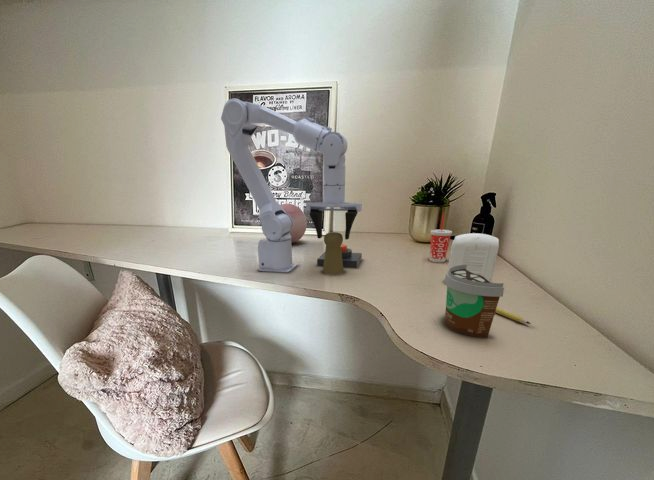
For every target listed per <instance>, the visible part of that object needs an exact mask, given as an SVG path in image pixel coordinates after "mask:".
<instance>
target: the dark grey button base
mask: <svg viewBox="0 0 654 480" xmlns="http://www.w3.org/2000/svg"><path fill="white" fill-rule="evenodd" d="M324 258H325V251H324V252H323V253H322V254H321V255H320V256H319V257H318V258H317V259H316V266H317V267H323V265H324ZM362 259H363V254H362V253H361V252H353V250H352V249H351V248H348V247H347V251H346V252H342V261H343V268H347V269H348V268H349V269H358V266H359V265H360V264H361V262H362Z"/></svg>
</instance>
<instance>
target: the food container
mask: <svg viewBox="0 0 654 480" xmlns="http://www.w3.org/2000/svg"><path fill="white" fill-rule="evenodd" d="M466 268H467V265H458V266H454V267H451V268H450V269H449V271H448V272H446V274H445V277H444V279H443V283H444V284H445V285H446V286H447V287H446V299H445V310H444V311H445V314H444V325H445V326H446V327H447V328H448V329H450V330H452V331H453V332H456V333H459V334H461V335H465V336H469V337H479V338H488V337H489V335H490V334H489V333H490V331H491V327H492V324H493V321H494V317H495V314H496V312H495V311H496V308H498V304H499V301H500V298H503V297H504V282H491V283H490V282H489V281H488V280H487V279H486V278H484V277H483V276H481V275H477V274H474V273H471V272H469V271H468V270H466Z"/></svg>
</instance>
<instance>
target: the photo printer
mask: <svg viewBox="0 0 654 480" xmlns="http://www.w3.org/2000/svg"><path fill="white" fill-rule="evenodd" d="M499 243H500V239H499V238H498V237H496V236H494V235H490V234H487V233H478V232H477V233H476V232H472V233H464V234H463V233H462V234H459V235H456V236H454V239H453V241H452V243H451V248H450V254H449V259H448V266H447V270H446V271H447V272H448V271H449V269H450V268H451V267H454V266H458V265H467V268H466V270H468V271H469V272H471V273H474V274H477V275H481V276H483V277H484V278H486V279H487V280H488V281H489V282H490V283H492V280H493V275H494V271H495V266H496V262H497V258H498V253H499V249H500V244H499ZM447 272H446V273H447Z"/></svg>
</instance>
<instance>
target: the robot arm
mask: <svg viewBox="0 0 654 480" xmlns="http://www.w3.org/2000/svg"><path fill="white" fill-rule="evenodd" d="M220 120H221V122H222V124H223V126H224V127H223V128H224V136H225V145H226V149H227V152H228V153H229V155H230V157H231V159H232V161H233V162H234V164H235V167H236V168H237V171H238V172H239V174H240V176H241V178H242V180H243V182H244V184H245V185H246V187H247V189H248V191H249V193H250V195H251V197H252V199H253V200H254V203H255V204H256V206H257V208H258V219H259V222H260V224H261V231H262V234H263V235H264V236H265V238H264V237H263V238H260V239H259V241H258V244H257V255H258V256H257V257H258V271H259V272H260V271H261V272H272V273H286V274H287V273H290V272H291V271H292V270H294V269H295V268H296V267H297V266H298V264H297V263H293V249H292V247H293V246H292V244H293V243H291V235H290V231H291V230H292V228H293V220H292V218H291V216H290V215H288V214H287V213H286V212H285V211H284V209H283V207H282V206H281V203H279V202H278V201H277V200H276V198H275V196H274V194H273V192H272V189H271V188H270V186H269V184H268V182H267V180H266V178H265V176H264V174H263V172H262V170H261V169H260V167H259V165H258V163H257V160H256V159H255V156H254V155H253V153H252V150H251V149H250V143H251V141H252V138H253V136H254V134H255V133H256V131H257V130H258V128H259V127H265V126H267V125H268V126H269V127H272V128H274V129H277V130H280V131H283V132H285V133H287V134H290V135H292V137H293V138H294V141H295V143H296V144H298V145H300V146H303V147H305V148H307V149H310V150H312V151H314V152H316V153H321V154H322V202H319V201H318V202H306V203H305V206H306V212H307V211H308V212H309V213H308V214H309V217H310V219H311V221H312V223H313V226H314V229H315V232H316V235H317V239H322V238H323V213H324V211H326V212H330V211H332V212H345V213H344V216H345V217H344V218H345V231H344V239H345V240H346V241H347V240H349V239H350V234H351V232H352V231H351V230H352V227H353V224H354V221H355V220H356V217H357V216H358V213H359V212H361V211H362V210H363V209H362V207H363V206H362V204H363V203H362V202H347V201H346V202H345V199H346V198H345V197H346V155H345V154H346V153H347V151H348V141H347V138H346V137H345V135H343V134H341V132H337V131H333V128H332V127H330V126H327V127H326V126H323V125H321V124H318V123H317V122H315V121H316V120H315V119H313V118H311V117H308V118H301V119H300V120H297V121H296V120H294V119H292V118H290V117H287V116H285V115H284V114H281V113H280V112H277V111H275V110H273V109H271V108H269V107H266V106H264V105H262V104H257V103H253V102H250V101H246V100H245V101H243V100H241V99H239V98H235V97H233V98H229V99H228V100H227V101H226V102H225V104H224V106H223V108H222V113H221V116H220Z"/></svg>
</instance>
